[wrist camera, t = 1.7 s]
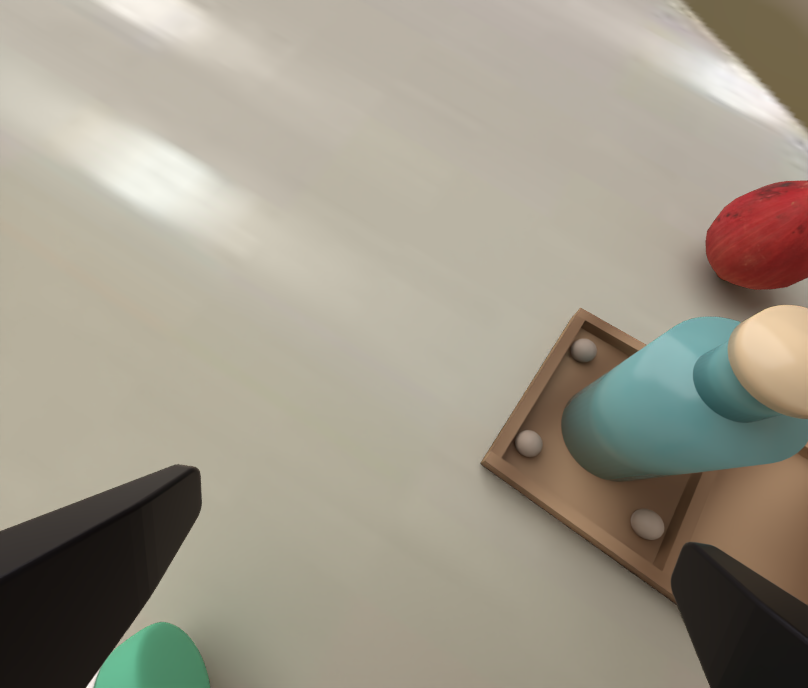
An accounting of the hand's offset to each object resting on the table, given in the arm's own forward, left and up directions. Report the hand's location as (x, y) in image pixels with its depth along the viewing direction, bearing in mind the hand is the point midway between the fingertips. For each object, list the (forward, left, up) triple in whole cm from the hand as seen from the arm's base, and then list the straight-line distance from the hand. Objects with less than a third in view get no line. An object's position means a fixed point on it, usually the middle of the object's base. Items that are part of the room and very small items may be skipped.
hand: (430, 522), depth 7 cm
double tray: (-6, -13, -14) cm, 20 cm away
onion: (+2, -25, -14) cm, 29 cm away
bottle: (-2, -11, -14) cm, 18 cm away
